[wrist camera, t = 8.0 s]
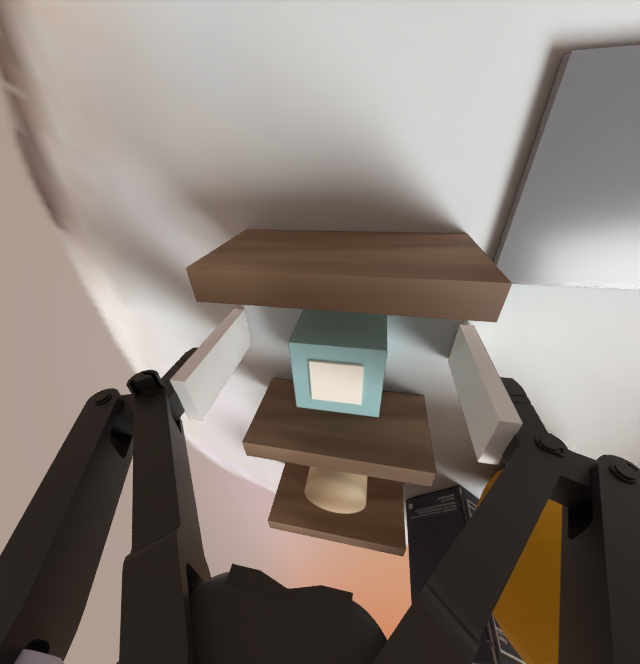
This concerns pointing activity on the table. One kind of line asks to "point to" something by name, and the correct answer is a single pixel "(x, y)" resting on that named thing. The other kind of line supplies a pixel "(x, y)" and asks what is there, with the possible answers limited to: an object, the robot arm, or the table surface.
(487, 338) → the table surface
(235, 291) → the divider rack
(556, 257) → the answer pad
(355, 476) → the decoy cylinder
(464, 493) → the small box
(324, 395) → the letter cube
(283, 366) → the table surface
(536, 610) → the apple
